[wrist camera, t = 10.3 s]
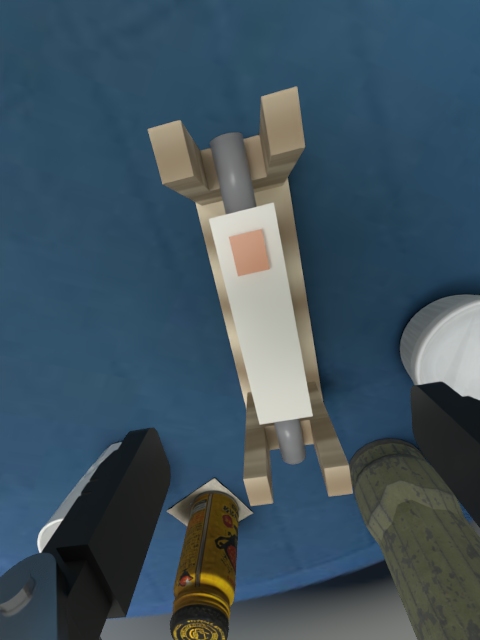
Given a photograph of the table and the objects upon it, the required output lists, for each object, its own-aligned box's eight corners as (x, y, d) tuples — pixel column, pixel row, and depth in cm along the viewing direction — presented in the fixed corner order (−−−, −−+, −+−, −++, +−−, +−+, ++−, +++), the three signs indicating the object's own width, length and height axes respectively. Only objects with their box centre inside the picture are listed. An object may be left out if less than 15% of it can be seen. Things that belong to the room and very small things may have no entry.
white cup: (173, 473, 34) (142, 566, 25) (123, 496, 36) (76, 592, 26) (135, 426, 33) (85, 506, 23) (84, 452, 34) (18, 537, 25)
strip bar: (205, 164, 21) (187, 140, 15) (258, 150, 20) (259, 119, 15) (267, 426, 27) (270, 473, 22) (309, 419, 26) (322, 466, 21)
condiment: (253, 511, 36) (253, 643, 24) (205, 541, 38) (184, 675, 26) (214, 476, 34) (194, 598, 23) (167, 508, 36) (126, 635, 25)
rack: (188, 163, 24) (128, 100, 13) (279, 139, 23) (303, 47, 12) (250, 416, 31) (247, 520, 20) (321, 404, 30) (362, 507, 19)
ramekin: (371, 317, 28) (397, 335, 22) (489, 263, 26) (547, 270, 20) (409, 405, 30) (440, 439, 25) (518, 362, 28) (576, 390, 23)
